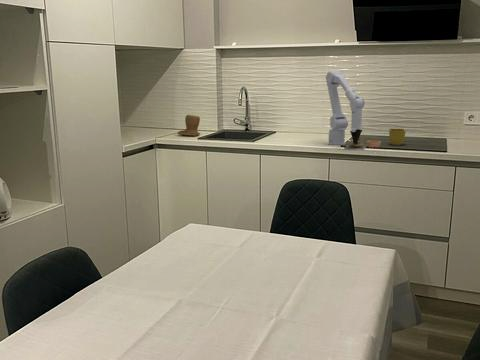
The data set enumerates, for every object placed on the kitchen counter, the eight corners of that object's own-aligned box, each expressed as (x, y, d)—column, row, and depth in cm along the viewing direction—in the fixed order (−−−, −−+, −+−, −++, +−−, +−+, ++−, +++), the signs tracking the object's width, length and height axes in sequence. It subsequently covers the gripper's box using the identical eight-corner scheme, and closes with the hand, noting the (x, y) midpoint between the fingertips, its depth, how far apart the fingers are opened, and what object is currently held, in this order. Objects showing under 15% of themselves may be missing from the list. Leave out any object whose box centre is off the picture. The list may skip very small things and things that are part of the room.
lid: (347, 145, 281) (347, 139, 280) (349, 143, 289) (349, 137, 288) (362, 146, 278) (362, 139, 277) (364, 144, 286) (364, 137, 285)
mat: (344, 148, 281) (344, 147, 281) (348, 145, 291) (348, 145, 291) (363, 149, 277) (363, 149, 277) (366, 146, 286) (366, 145, 286)
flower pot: (404, 145, 286) (405, 130, 284) (389, 145, 288) (390, 130, 286) (403, 143, 295) (403, 128, 293) (388, 143, 297) (388, 128, 295)
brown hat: (204, 135, 347) (203, 114, 344) (194, 137, 337) (193, 115, 334) (186, 134, 355) (186, 113, 351) (177, 136, 345) (175, 115, 341)
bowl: (365, 147, 285) (366, 142, 284) (368, 145, 292) (368, 140, 291) (379, 147, 282) (379, 142, 281) (381, 145, 288) (381, 140, 288)
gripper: (361, 120, 272) (360, 144, 275) (366, 118, 285) (365, 141, 288) (348, 120, 275) (347, 144, 278) (354, 117, 288) (353, 140, 291)
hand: (355, 142), depth 283 cm, fingers closed on lid, 3 cm apart
